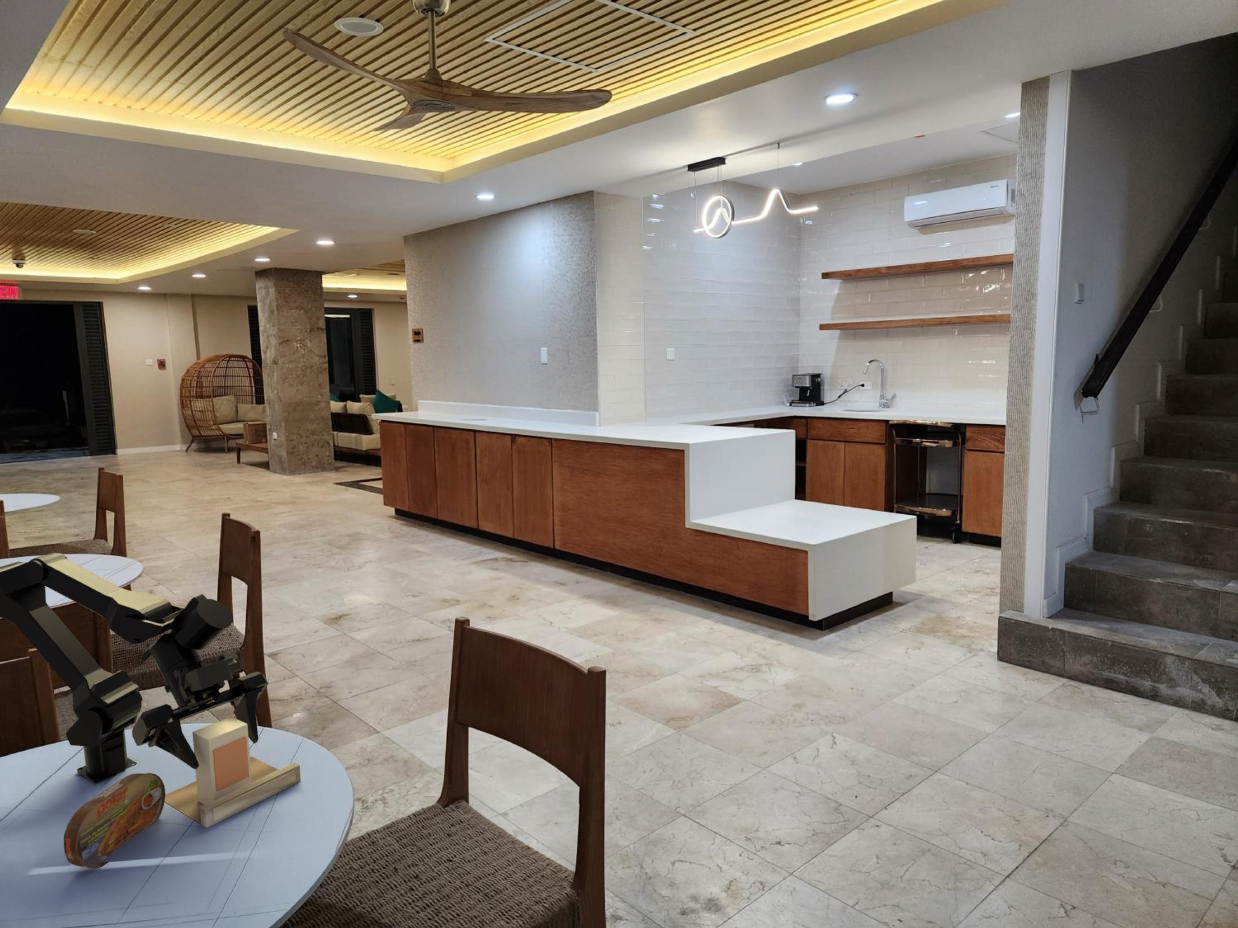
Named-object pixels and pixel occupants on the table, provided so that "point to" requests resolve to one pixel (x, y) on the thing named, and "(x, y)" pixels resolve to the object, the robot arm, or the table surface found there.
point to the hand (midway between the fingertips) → (227, 754)
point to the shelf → (235, 793)
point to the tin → (113, 819)
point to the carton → (221, 759)
